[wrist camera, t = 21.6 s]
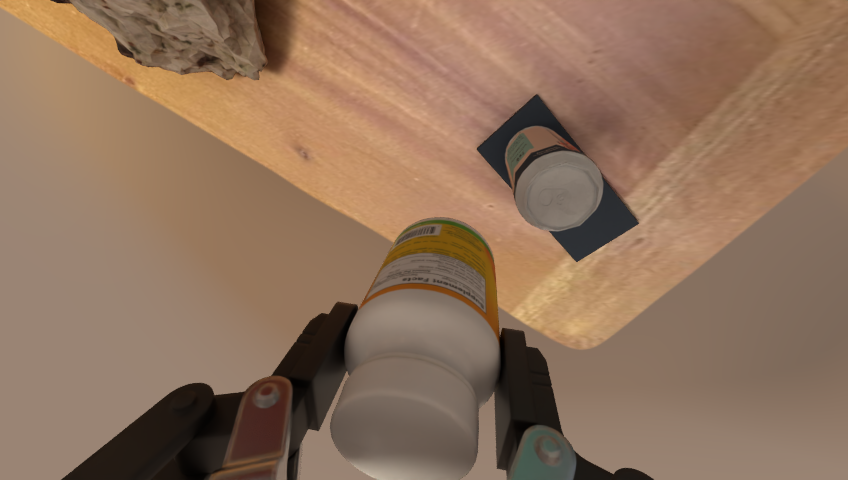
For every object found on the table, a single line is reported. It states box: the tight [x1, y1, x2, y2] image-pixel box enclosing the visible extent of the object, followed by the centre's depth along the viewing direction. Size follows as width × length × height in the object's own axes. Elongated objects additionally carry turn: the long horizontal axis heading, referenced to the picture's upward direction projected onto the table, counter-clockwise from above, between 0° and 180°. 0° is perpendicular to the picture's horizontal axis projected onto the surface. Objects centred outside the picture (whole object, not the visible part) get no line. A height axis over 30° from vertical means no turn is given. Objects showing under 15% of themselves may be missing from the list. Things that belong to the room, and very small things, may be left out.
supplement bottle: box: [330, 217, 501, 480], centre depth 13 cm, size 5×5×10 cm
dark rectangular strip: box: [477, 95, 639, 262], centre depth 30 cm, size 15×6×1 cm, turn 45°
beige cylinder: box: [505, 126, 603, 232], centre depth 23 cm, size 5×5×12 cm
